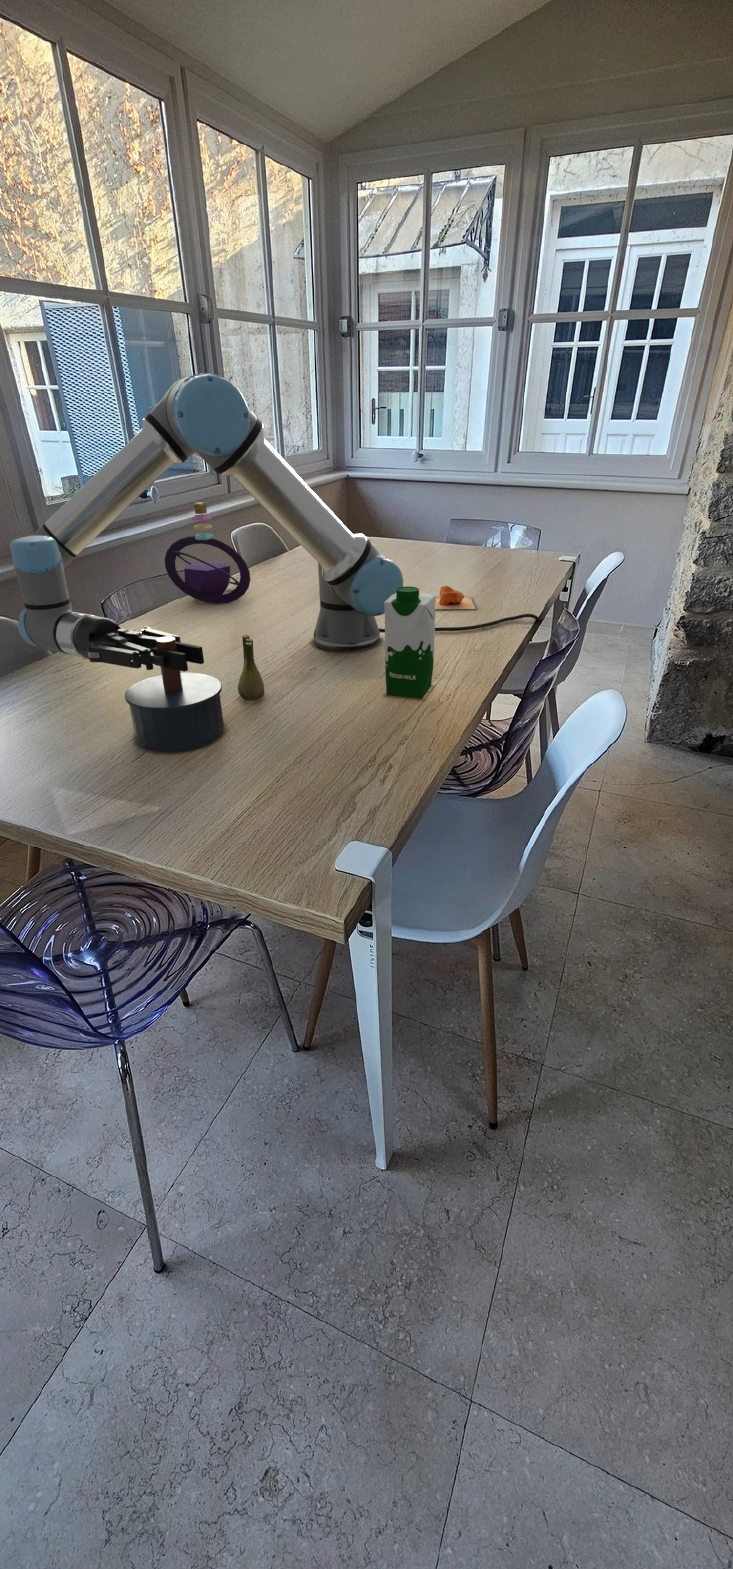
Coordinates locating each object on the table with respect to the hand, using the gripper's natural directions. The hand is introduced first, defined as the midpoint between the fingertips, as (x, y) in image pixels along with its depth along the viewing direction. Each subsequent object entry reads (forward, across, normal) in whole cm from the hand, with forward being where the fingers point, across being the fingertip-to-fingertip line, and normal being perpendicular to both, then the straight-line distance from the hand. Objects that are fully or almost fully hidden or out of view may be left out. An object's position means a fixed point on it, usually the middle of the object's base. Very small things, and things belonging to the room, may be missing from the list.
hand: (193, 659), depth 110 cm
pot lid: (-5, 0, -7) cm, 9 cm away
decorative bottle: (-62, -72, -14) cm, 96 cm away
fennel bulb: (-4, -18, -14) cm, 23 cm away
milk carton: (+20, -36, -14) cm, 43 cm away
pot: (-5, 0, -14) cm, 15 cm away
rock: (+1, -96, -14) cm, 97 cm away
